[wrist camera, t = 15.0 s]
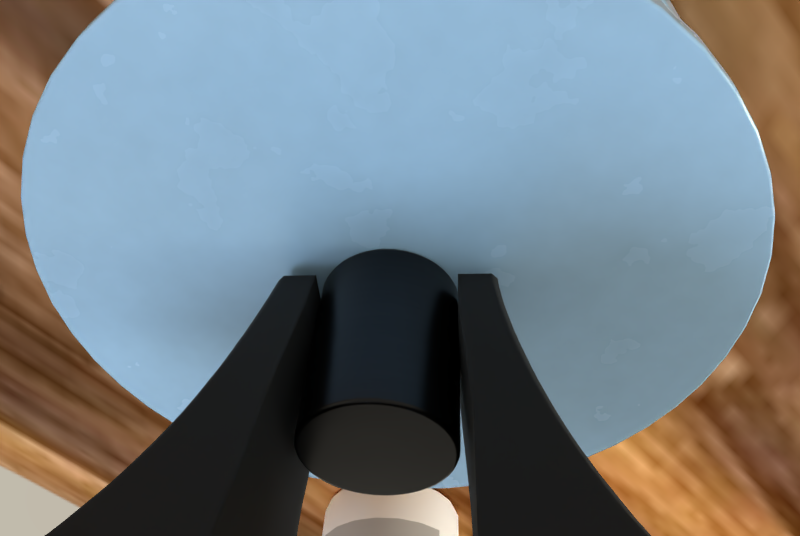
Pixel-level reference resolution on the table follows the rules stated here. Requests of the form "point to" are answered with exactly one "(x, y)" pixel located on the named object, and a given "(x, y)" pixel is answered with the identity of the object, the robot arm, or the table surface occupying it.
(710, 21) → the table surface
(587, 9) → the lid
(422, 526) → the spray bottle
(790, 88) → the table surface
